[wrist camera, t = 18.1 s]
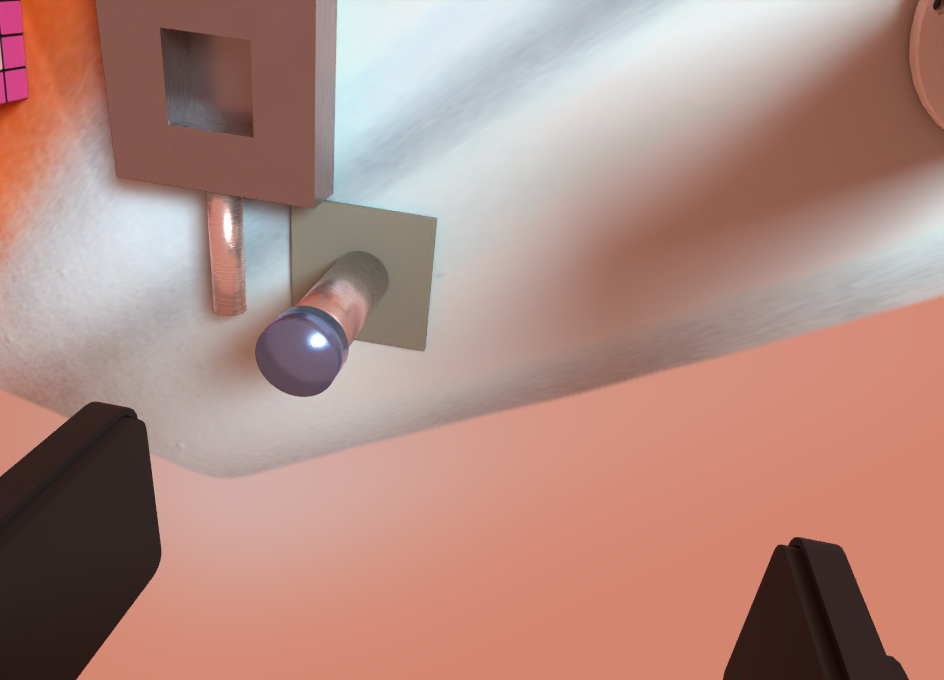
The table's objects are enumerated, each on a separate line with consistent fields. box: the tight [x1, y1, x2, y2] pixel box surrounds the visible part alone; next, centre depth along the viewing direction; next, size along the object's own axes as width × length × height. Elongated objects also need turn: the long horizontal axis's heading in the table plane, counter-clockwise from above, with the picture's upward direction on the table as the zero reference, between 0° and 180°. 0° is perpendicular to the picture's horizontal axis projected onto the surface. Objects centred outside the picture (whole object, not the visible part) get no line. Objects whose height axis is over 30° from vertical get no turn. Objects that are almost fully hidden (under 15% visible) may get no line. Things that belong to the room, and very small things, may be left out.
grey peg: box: [255, 251, 389, 397], centre depth 41 cm, size 4×4×11 cm
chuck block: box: [95, 0, 337, 316], centre depth 42 cm, size 20×12×3 cm, turn 174°
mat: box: [291, 200, 437, 351], centre depth 46 cm, size 9×9×1 cm
